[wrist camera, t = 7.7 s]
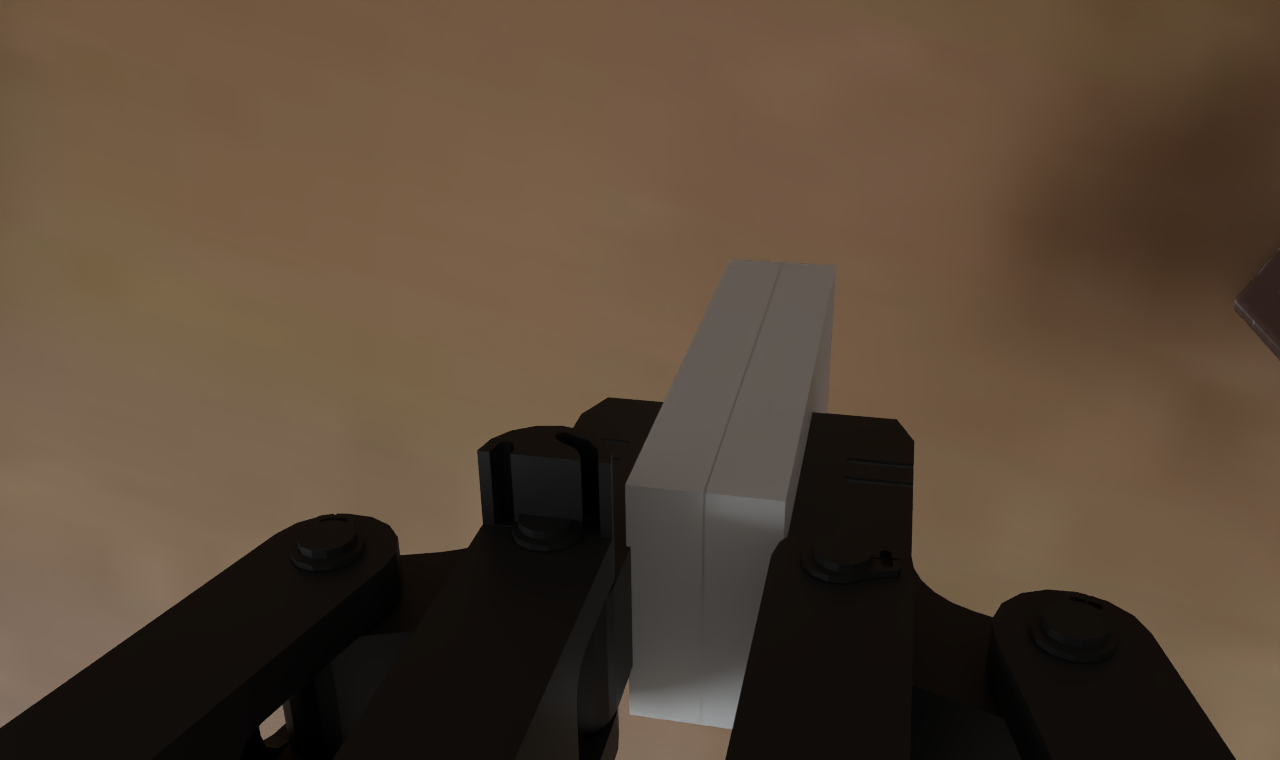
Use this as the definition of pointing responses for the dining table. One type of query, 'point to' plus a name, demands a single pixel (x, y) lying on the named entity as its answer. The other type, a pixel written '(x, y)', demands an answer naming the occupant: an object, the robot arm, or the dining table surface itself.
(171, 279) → the dining table surface
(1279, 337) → the box
